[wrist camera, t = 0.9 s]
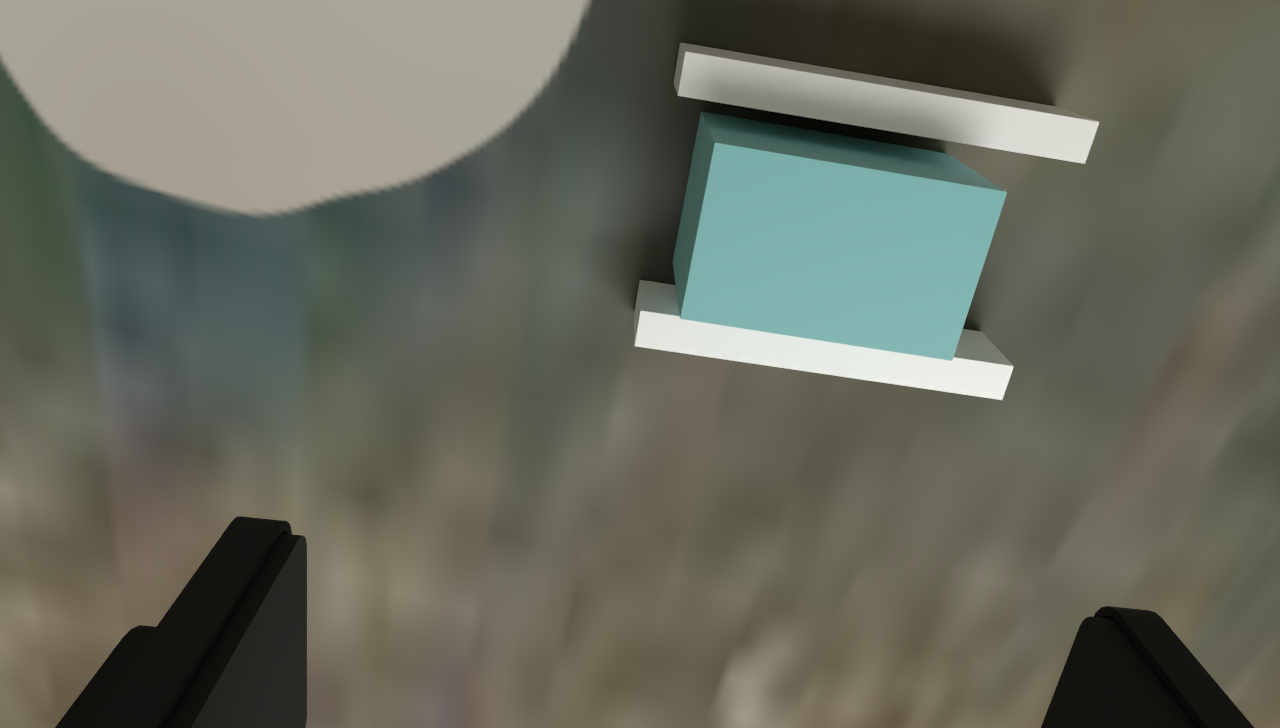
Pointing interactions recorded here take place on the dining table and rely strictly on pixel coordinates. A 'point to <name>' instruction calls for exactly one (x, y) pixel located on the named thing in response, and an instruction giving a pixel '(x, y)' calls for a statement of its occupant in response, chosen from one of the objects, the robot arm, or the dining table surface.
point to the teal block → (831, 237)
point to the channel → (873, 107)
